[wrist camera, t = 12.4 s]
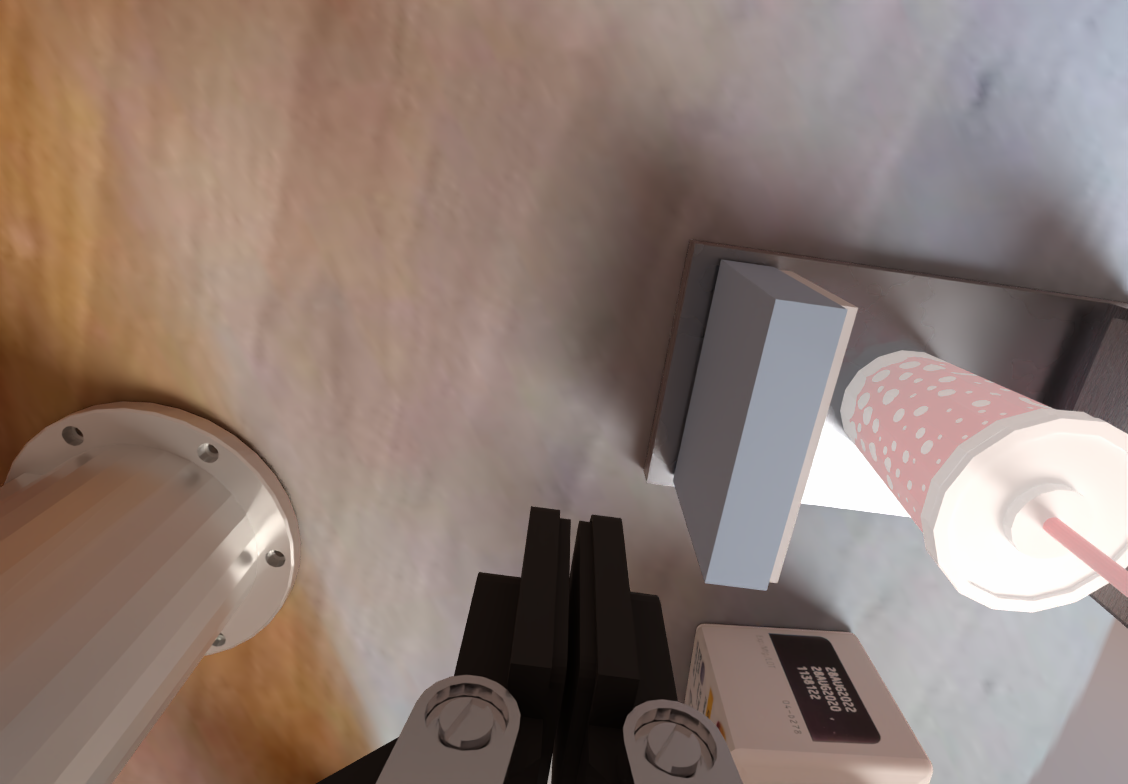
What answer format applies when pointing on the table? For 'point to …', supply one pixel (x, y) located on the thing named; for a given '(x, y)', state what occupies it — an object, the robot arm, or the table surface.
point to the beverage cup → (995, 481)
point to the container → (802, 707)
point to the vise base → (922, 324)
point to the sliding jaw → (757, 418)
